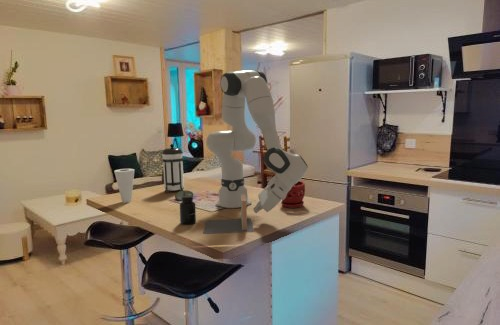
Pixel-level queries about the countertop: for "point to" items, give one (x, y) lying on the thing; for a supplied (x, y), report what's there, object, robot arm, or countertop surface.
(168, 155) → the coffee press
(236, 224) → the mat
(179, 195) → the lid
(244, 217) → the tile
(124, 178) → the cup
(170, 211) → the countertop surface
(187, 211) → the supplement bottle
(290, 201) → the plant pot
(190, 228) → the countertop surface
